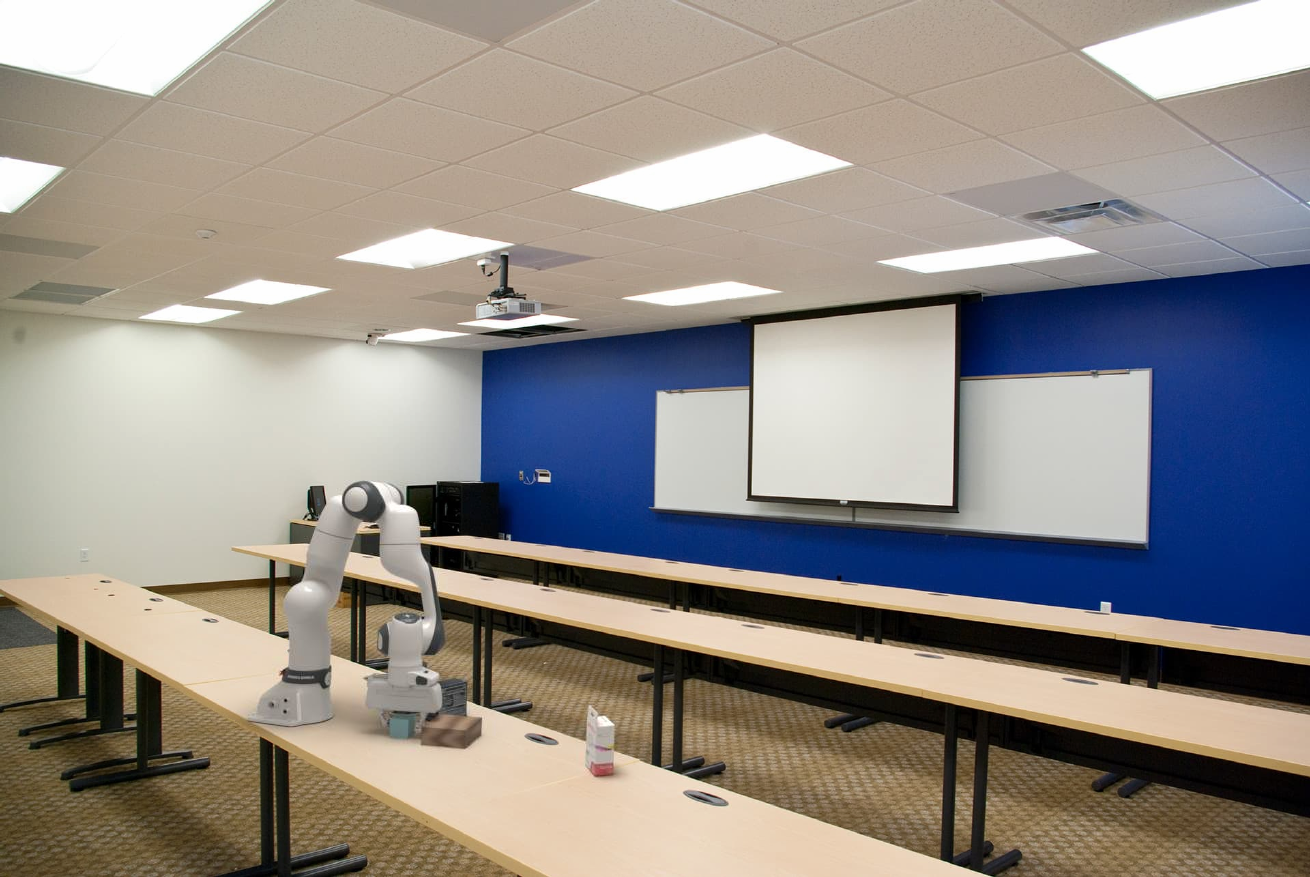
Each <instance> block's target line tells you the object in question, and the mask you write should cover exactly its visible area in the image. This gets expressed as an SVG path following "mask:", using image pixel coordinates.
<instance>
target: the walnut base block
mask: <svg viewBox="0 0 1310 877" xmlns="http://www.w3.org/2000/svg"><path fill="white" fill-rule="evenodd" d="M482 727H483V717H481V716H471V715H467V716H458V715H446V714H439V715H438V716H437V717H435V718H434V719H432V720H431V721H429V722H428V721H427V722H426V723H424V725H423V726H422V728H421V729H420V745H421V746H428V747H439V748H440V747H442V748H451V749H463V750H465V749H466V748H468V747H469V746H470V745H471V744H472V743H474V742H475V741H476V740H477V739H478V738H479V737H481V736H482V729H483V728H482Z"/></svg>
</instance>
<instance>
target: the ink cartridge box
mask: <svg viewBox="0 0 1310 877" xmlns="http://www.w3.org/2000/svg"><path fill="white" fill-rule="evenodd" d="M592 714H593V716H592ZM615 728H616V724H614V722H612V721H611V720H610V719H609V718H608V717H607V716H605V715H601V716H599V713H598V712H597V711H596V709H594V708H593V707H592V706H591V705H588V707H587V718H586V738H585V762H584V764H585V766H586V768H587V769H588V770H589V771H590V773H591V774H592V775H593V776H595V777H597V776H608V775H609V776H610V775H614V758H615V757H614V756H615V755H614V754H615V752H614V751H615V734H616V733H615V732H616V730H615Z"/></svg>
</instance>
